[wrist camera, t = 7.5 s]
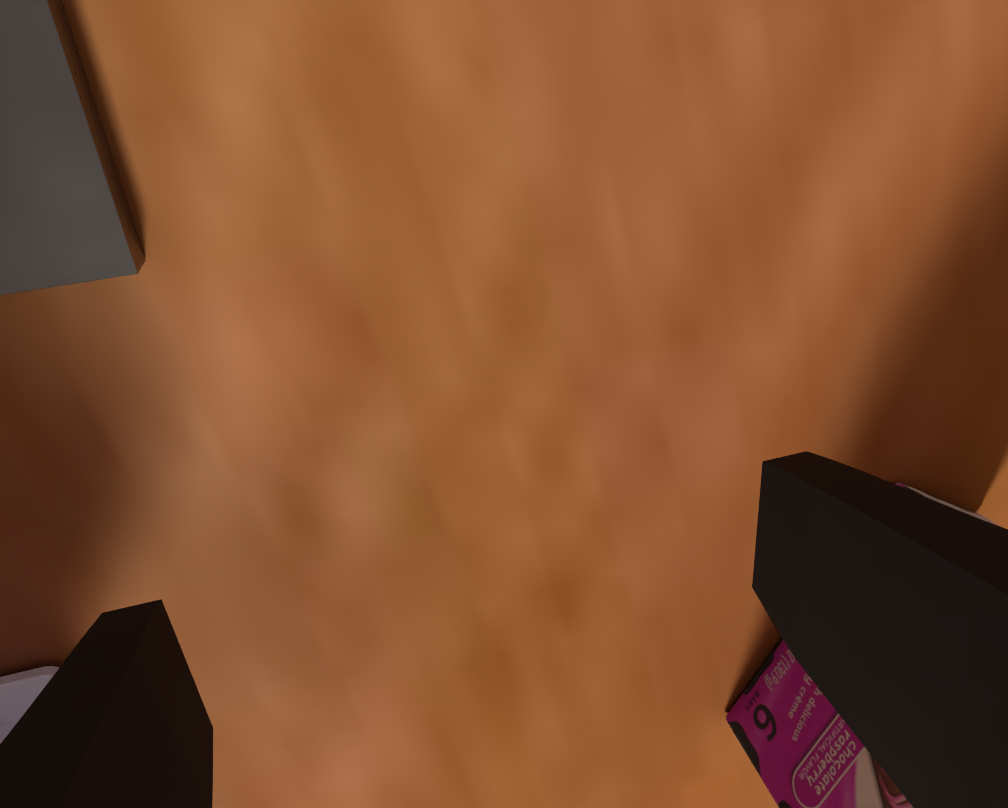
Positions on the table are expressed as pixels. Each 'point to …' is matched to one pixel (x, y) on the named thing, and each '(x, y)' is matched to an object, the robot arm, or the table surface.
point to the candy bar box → (809, 737)
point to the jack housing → (55, 161)
